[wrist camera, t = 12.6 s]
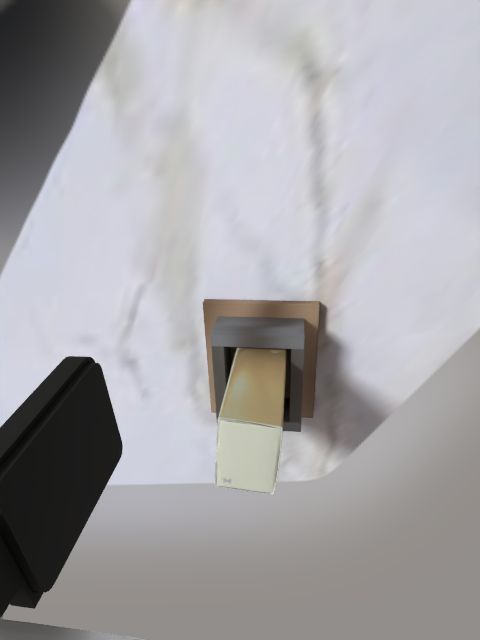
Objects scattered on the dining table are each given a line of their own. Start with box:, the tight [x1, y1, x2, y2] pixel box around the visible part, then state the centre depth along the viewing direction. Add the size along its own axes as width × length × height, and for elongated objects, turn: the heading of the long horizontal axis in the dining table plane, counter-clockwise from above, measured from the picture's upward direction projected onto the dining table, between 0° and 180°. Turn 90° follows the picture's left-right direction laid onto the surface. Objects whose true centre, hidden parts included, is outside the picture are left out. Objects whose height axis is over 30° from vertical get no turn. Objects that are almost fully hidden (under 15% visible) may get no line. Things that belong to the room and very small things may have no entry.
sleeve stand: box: [203, 299, 319, 432], centre depth 38 cm, size 10×12×4 cm
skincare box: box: [215, 347, 287, 494], centre depth 33 cm, size 6×4×12 cm
